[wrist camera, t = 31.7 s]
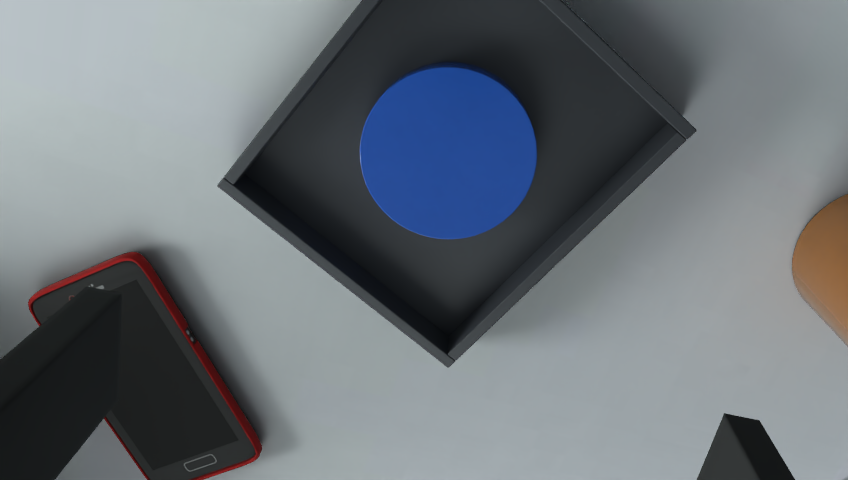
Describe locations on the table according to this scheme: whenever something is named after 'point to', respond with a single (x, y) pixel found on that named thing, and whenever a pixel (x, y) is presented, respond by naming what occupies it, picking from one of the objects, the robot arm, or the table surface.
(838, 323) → the jar
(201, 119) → the table surface
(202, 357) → the cell phone
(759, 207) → the table surface
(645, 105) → the tray
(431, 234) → the lid
